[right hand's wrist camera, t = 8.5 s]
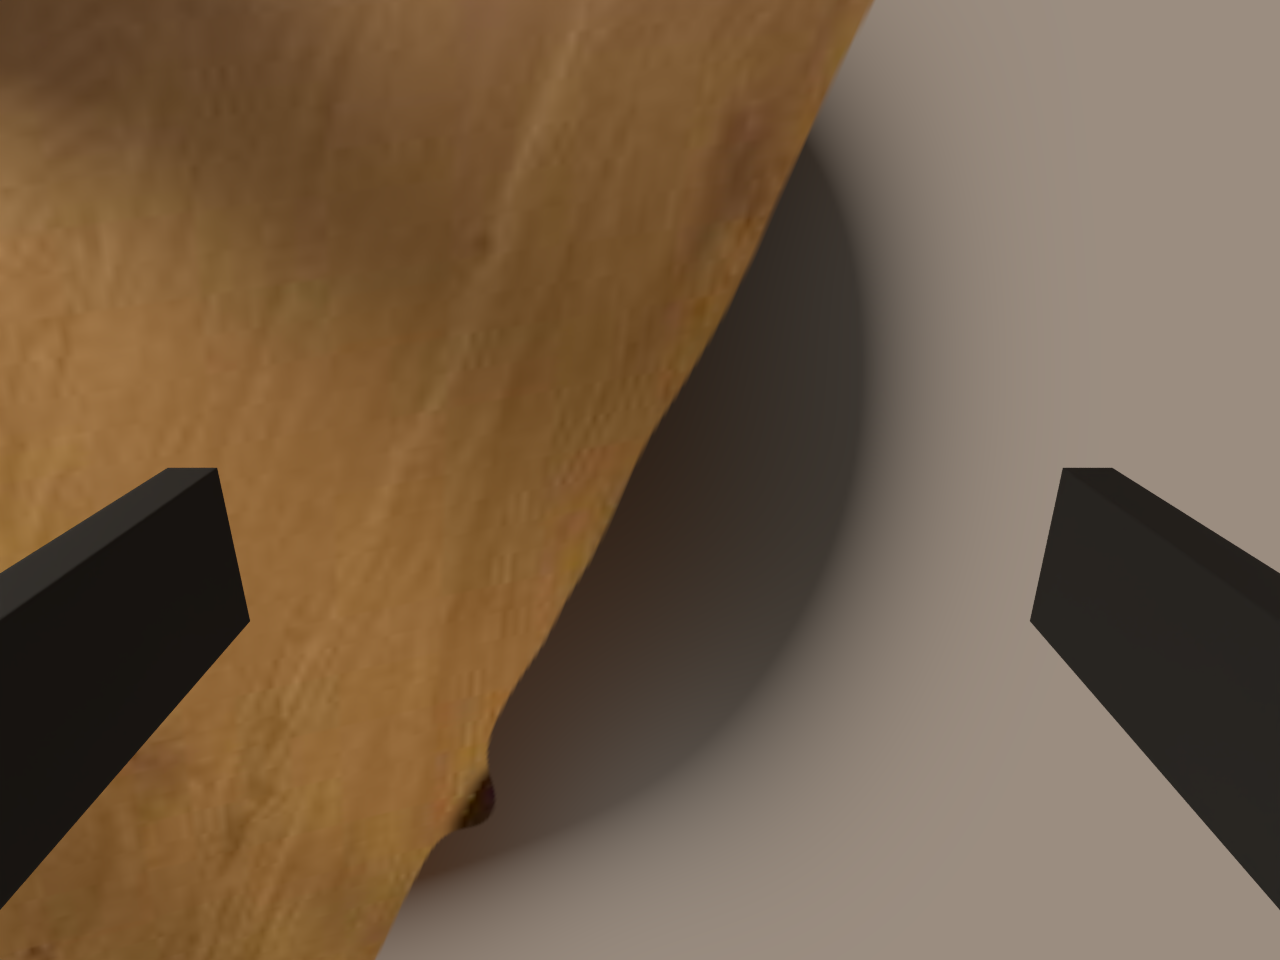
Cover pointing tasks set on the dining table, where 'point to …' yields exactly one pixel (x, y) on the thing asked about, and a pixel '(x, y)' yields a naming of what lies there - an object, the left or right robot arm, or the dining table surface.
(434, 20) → the dining table surface
